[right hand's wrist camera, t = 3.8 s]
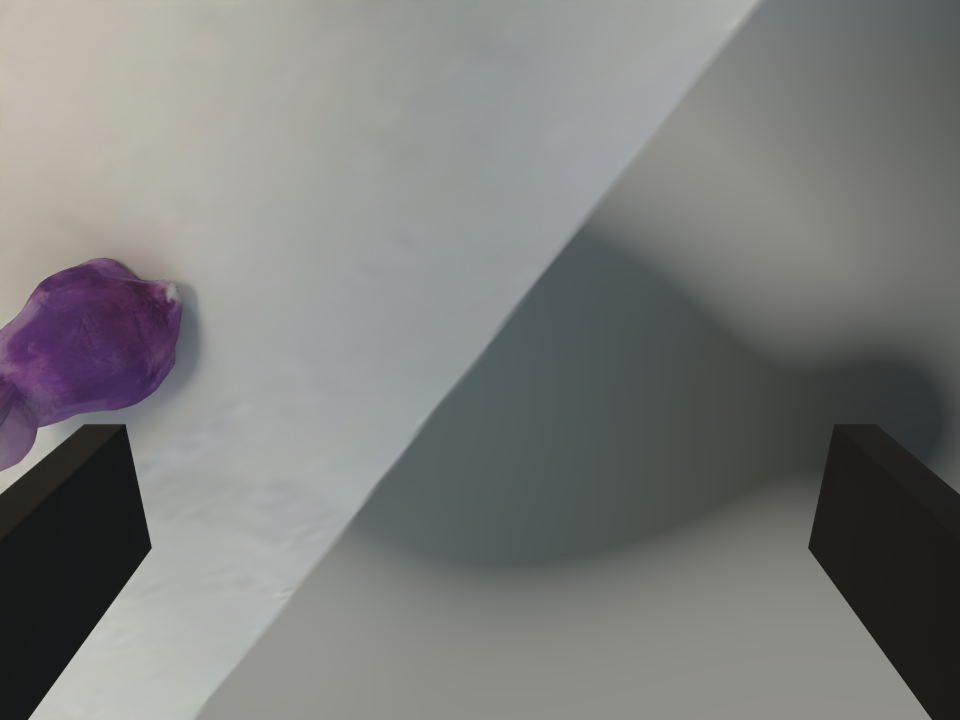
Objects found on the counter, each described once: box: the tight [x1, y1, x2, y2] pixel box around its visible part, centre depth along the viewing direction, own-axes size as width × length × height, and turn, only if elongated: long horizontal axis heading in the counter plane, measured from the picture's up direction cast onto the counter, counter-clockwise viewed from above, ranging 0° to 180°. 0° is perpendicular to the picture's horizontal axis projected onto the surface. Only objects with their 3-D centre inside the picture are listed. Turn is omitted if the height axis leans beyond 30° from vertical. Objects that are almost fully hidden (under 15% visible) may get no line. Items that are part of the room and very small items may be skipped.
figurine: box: [0, 258, 182, 471], centre depth 34 cm, size 9×10×15 cm
